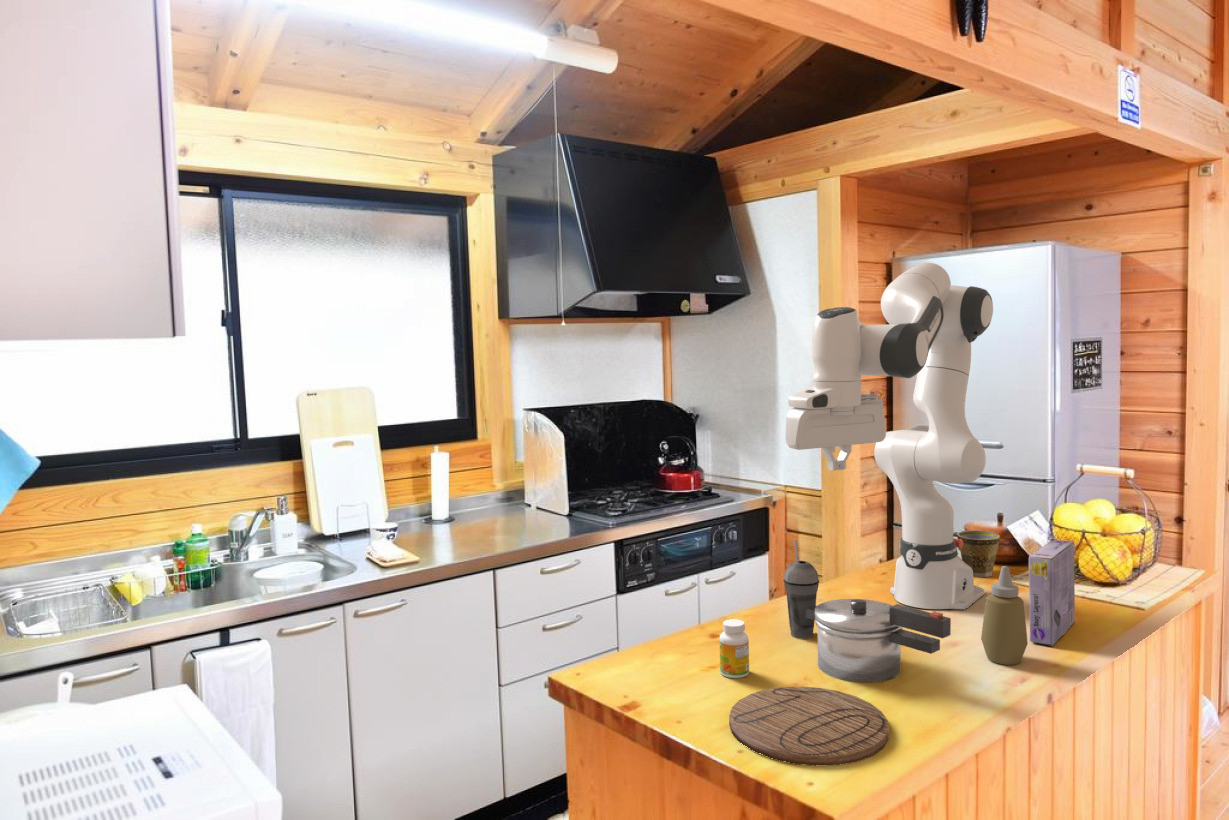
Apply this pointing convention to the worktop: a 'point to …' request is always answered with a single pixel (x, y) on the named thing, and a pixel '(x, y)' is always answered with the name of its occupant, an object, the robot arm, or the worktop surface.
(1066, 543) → the cake pan box
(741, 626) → the supplement bottle
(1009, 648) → the squeeze bottle
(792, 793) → the worktop surface
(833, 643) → the pot
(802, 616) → the beverage cup
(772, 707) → the trivet
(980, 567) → the ceramic cup
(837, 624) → the lid
